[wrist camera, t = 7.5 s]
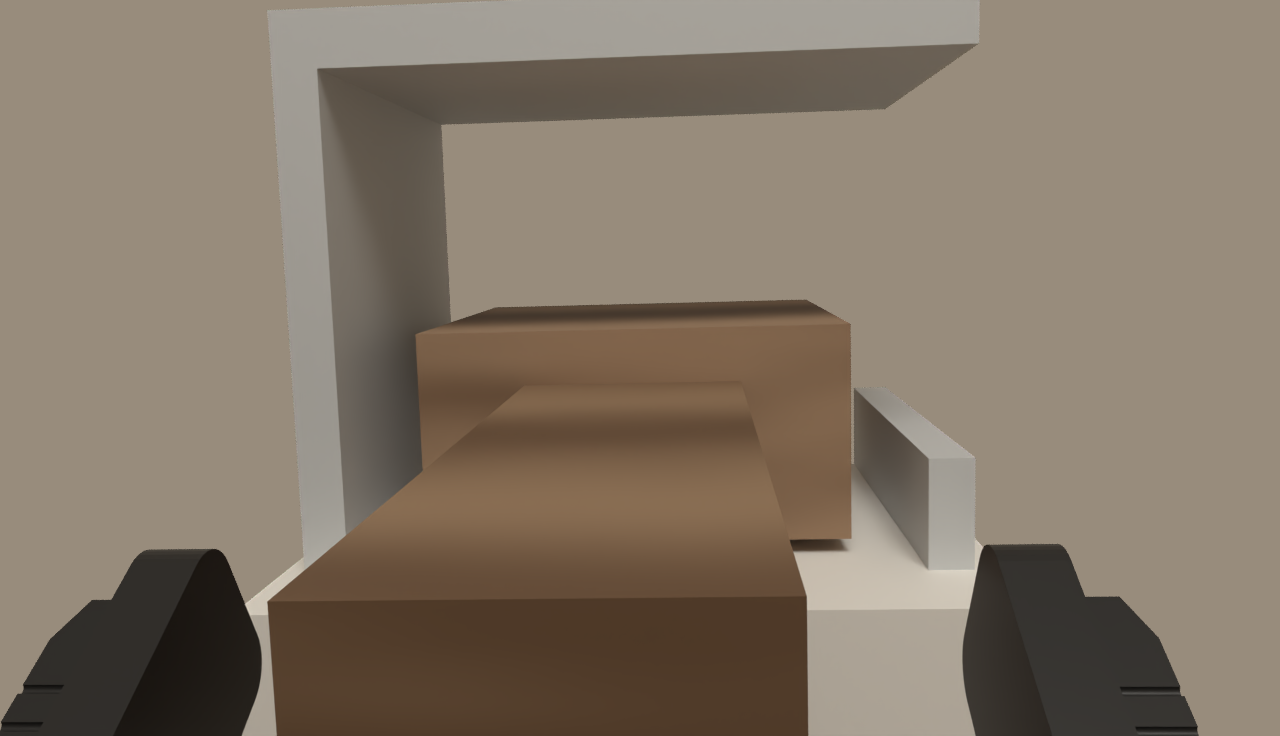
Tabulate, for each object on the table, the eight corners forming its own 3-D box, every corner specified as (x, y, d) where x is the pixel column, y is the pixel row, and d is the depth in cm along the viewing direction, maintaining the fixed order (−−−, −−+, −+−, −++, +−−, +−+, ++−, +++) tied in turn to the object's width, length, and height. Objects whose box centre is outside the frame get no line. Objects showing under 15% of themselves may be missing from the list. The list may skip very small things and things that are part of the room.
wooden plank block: (1080, 982, 8) (1091, 456, 8) (46, 971, 8) (-6, 473, 8) (807, 453, 28) (806, 299, 27) (502, 458, 28) (495, 307, 28)
